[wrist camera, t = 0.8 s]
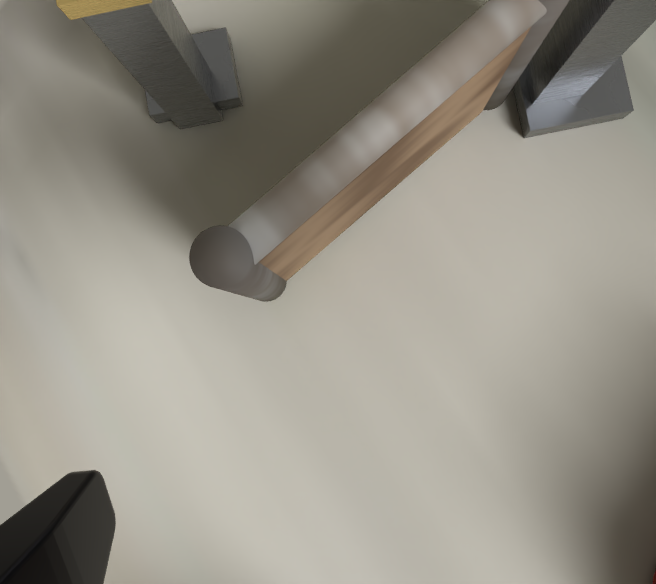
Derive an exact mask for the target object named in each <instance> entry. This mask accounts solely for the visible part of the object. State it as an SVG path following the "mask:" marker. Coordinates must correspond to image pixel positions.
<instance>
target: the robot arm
mask: <svg viewBox="0 0 656 584" xmlns="http://www.w3.org/2000/svg"><path fill="white" fill-rule="evenodd" d="M115 524H116V521H115V513H114V509H113V506H112V503H111V500H110V497H109V494H108V491H107V488H106V485H105V482H104V479H103V477H102V475H101V473H100V472H98V471H96V470H89V471H78V472H71V473H69V474H67V475H66V476H64V477H63V478H62V479H60V480H59V481H58V482H56V483H55V484H54V485H52V486H51V487H50V488H48V489H47V490H46V491H45V492H43V493H42V494H41V495H39V496H38V497H37V498H35V499H34V500H33V501H31V502H30V503H29V504H27V505H26V506H25V507H24V508H22V509H21V510H20V511H18V512H17V513H16V514H14V515H13V516H12V517H10V518H9V519H8V520H6V521H5V522H4V523H3V524H1V525H0V584H103V583H104V578H105V574H106V569H107V565H108V560H109V555H110V551H111V546H112V542H113V537H114V532H115Z"/></svg>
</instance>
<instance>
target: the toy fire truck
mask: <svg viewBox="0 0 656 584" xmlns="http://www.w3.org/2000/svg"><path fill="white" fill-rule="evenodd" d="M653 584H656V570H655V573H654V576H653Z"/></svg>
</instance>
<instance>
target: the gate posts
mask: <svg viewBox="0 0 656 584" xmlns="http://www.w3.org/2000/svg"><path fill="white" fill-rule="evenodd" d="M56 2H57V6H58V7H59V8H60V9H61V10H62V11H63V12H64V13H65V14H66V16H67V17H68V18H69V19H70V20H73V19H78V18H82V19H83V20H84V21H85V22H86V23H87V25H88V26H89V27H90V28H91V29H92V30H93V31H94V32H95V34H96V35H97V36H98V37H99V38H100V39H101V40H102V42H103V43H104V44H105V45H106V46H107V47H108V48H109V49H110V51H111V52H112V53H113V54H114V55H115V56H116V57H117V58H118V60H119V61H120V62H121V63H122V64H123V65H124V66H125V68H126V69H127V70H128V71H129V72H130V73H131V74H132V75H133V77H134V78H135V79H136V80H137V81H138V82H139V83H140V84H141V86H142V87H143V88H144V89H145V92H146V98H147V104H148V110H149V115H150V116H151V118H152V119H153V120H154V121H155V122H156V123H160V122H165V121H170V120H172V121H173V122H174V123H175V124H176V125H177V126H178V127H179V129H184V128H189V127H194V126H199V125H204V124H209V123H213V122H218V121H223V117H222V111H221V110H223V109H228V108H233V107H238V106H243V104H242V99H241V93H240V88H239V82H238V77H237V72H236V66H235V61H234V55H233V50H232V45H231V39H230V36H229V34H228V32H227V29H226V27H225V28H221V29H216V30H211V31H206V32H202V33H197V34H192V35H191V34H190V32H189V30H188V29H187V27H186V25H185V23H184V22H183V20H182V18H181V16H180V14H179V13H178V11H177V9H176V7H175V6H174V4H173V2H172V0H56ZM655 20H656V0H570V1H569V2H568V4H567V5H566V7H565V8H564V10H563V11H562V13H561V14H560V16H559V17H558V19H557V21H556V22H555V24H554V25H553V27H552V28H551V30H550V31H549V33H548V34H547V36H546V37H545V39H544V40H543V42H542V44H541V45H540V47H539V48H538V50H537V51H536V53H535V54H534V56H533V57H532V59H531V60H530V62H529V63H528V65H527V67H526V68H525V70H524V71H523V73H522V74H521V76H520V77H519V79H518V80H517V82H516V83H515V85H514V86H513V89H514V93H515V98H516V103H517V107H518V112H519V117H520V121H521V126H522V130H523V135H524V138H527V137H532V136H537V135H542V134H547V133H552V132H557V131H562V130H567V129H572V128H577V127H582V126H587V125H592V124H597V123H602V122H607V121H612V120H617V119H622V118H624V117H626V116H627V115H628V114H629V113H631V112H632V111H633V110H634V109H633V105H632V100H631V96H630V92H629V87H628V83H627V79H626V74H625V70H624V66H623V61H622V57H621V55H622V54H623V53H624V52H625V51H626V50H627V49H628V48H629V47H630V46H631V45H632V44H633V43H634V42H635V41H636V40H637V39H638V38H639V37H640V36H641V35H642V34H643V33H644V32H645V31H646V29H647V28H648V27H649V26H650V25H651V24H652V23H653V22H654V21H655Z"/></svg>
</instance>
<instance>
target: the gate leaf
mask: <svg viewBox="0 0 656 584" xmlns="http://www.w3.org/2000/svg"><path fill="white" fill-rule="evenodd" d="M569 1H570V0H489V1H488V2H486V3H485V4H484V5H483V6H482V7H481V8H479V9H478V10H477V11H476V12H475V13H474V14H473V15H471V16H470V17H469V18H468V19H467V20H466V21H464V22H463V23H462V24H461V25H460V26H459V27H457V28H456V29H455V30H454V31H453V32H452V33H451V34H449V35H448V36H447V37H446V38H445V39H444V40H442V41H441V42H440V43H439V44H438V45H437V46H435V47H434V48H433V49H432V50H431V51H430V52H429V53H427V54H426V55H425V56H424V57H423V58H422V59H420V60H419V61H418V62H417V63H416V64H415V65H414V66H412V67H411V68H410V69H409V70H408V71H407V72H405V73H404V74H403V75H402V76H401V77H400V78H398V79H397V80H396V81H395V82H394V83H393V84H392V85H390V86H389V87H388V88H387V89H386V90H385V91H383V92H382V93H381V94H380V95H379V96H378V97H376V98H375V99H374V100H373V101H372V102H371V103H370V104H368V105H367V106H366V107H365V108H364V109H363V110H361V111H360V112H359V113H358V114H357V115H356V116H355V117H353V118H352V119H351V120H350V121H349V122H348V123H346V124H345V125H344V126H343V127H342V128H341V129H339V130H338V131H337V132H336V133H335V134H334V135H333V136H331V137H330V138H329V139H328V140H327V141H326V142H324V143H323V144H322V145H321V146H320V147H319V148H317V149H316V150H315V151H314V152H313V153H312V154H311V155H309V156H308V157H307V158H306V159H305V160H304V161H302V162H301V163H300V164H299V165H298V166H297V167H296V168H294V169H293V170H292V171H291V172H290V173H289V174H287V175H286V176H285V177H284V178H283V179H282V180H280V181H279V182H278V183H277V184H276V185H275V186H274V187H272V188H271V189H270V190H269V191H268V192H267V193H265V194H264V195H263V196H262V197H261V198H260V199H258V200H257V201H256V202H255V203H254V204H253V205H252V206H250V207H249V208H248V209H247V210H246V211H245V212H243V213H242V214H241V215H240V216H239V217H238V218H237V219H235V220H234V221H233V222H232V223H231V224H230V225H228V226H214V227H211V228H208V229H206V230H204V231H203V232H202V233H200V234H199V235H198V236H197V238H196V239H195V240H194V242H193V244H192V246H191V249H190V256H189V259H190V265H191V268H192V271H193V273H194V274H195V276H196V277H197V278H198V279H199V280H200V281H201V282H202V283H204V284H206V285H208V286H210V287H214V288H217V289H221V290H224V291H228V292H231V293H235V294H238V295H242V296H245V297H249V298H253V299H256V300H260V301H272V300H274V299H276V298H278V297H279V296H280V295H281V294H282V293H283V291H284V290H285V287H286V282H287V280H288V279H289V278H291V277H292V276H293V275H294V274H295V273H296V272H297V271H299V270H300V269H301V268H302V267H303V266H304V265H306V264H307V263H308V262H309V261H310V260H311V259H312V258H314V257H315V256H316V255H317V254H318V253H319V252H321V251H322V250H323V249H324V248H325V247H326V246H327V245H329V244H330V243H331V242H332V241H333V240H334V239H336V238H337V237H338V236H339V235H340V234H341V233H343V232H344V231H345V230H346V229H347V228H348V227H349V226H351V225H352V224H353V223H354V222H355V221H356V220H358V219H359V218H360V217H361V216H362V215H363V214H364V213H366V212H367V211H368V210H369V209H370V208H371V207H373V206H374V205H375V204H376V203H377V202H378V201H379V200H381V199H382V198H383V197H384V196H385V195H386V194H388V193H389V192H390V191H391V190H392V189H393V188H395V187H396V186H397V185H398V184H399V183H400V182H401V181H403V180H404V179H405V178H406V177H407V176H408V175H410V174H411V173H412V172H413V171H414V170H415V169H416V168H418V167H419V166H420V165H421V164H422V163H423V162H425V161H426V160H427V159H428V158H429V157H430V156H432V155H433V154H434V153H435V152H436V151H437V150H438V149H440V148H441V147H442V146H443V145H444V144H445V143H447V142H448V141H449V140H450V139H451V138H452V137H453V136H455V135H456V134H457V133H458V132H459V131H460V130H462V129H463V128H464V127H465V126H466V125H467V124H468V123H470V122H471V121H472V120H473V119H474V118H475V117H477V116H478V115H479V114H480V113H481V112H482V111H483V110H492V109H495V108H497V107H498V106H500V105H501V104H502V103H503V102H504V100H505V99H506V97H507V96H508V94H509V93H510V91H511V90H512V88H513V86H514V85H515V83H516V82H517V80H518V79H519V77H520V76H521V74H522V73H523V71H524V70H525V68H526V67H527V65H528V63H529V62H530V60H531V59H532V57H533V56H534V54H535V53H536V51H537V50H538V48H539V47H540V45H541V44H542V42H543V40H544V39H545V37H546V36H547V34H548V33H549V31H550V30H551V28H552V27H553V25H554V24H555V22H556V21H557V19H558V17H559V16H560V14H561V13H562V11H563V10H564V8H565V7H566V5H567V4H568V2H569Z"/></svg>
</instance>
